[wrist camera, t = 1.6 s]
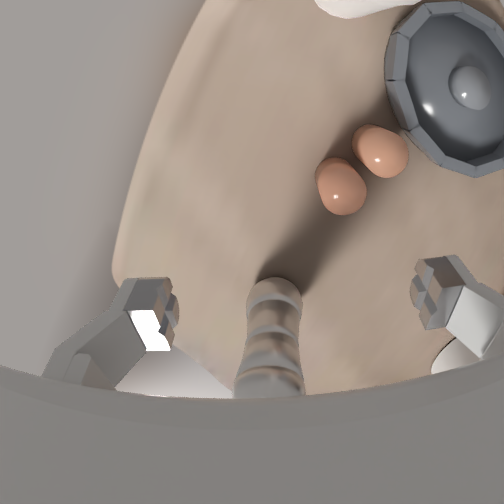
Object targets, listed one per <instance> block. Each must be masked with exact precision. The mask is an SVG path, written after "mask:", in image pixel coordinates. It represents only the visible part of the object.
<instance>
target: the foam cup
mask: <svg viewBox="0 0 504 504" xmlns="http://www.w3.org/2000/svg"><path fill="white" fill-rule="evenodd" d="M314 1H315V2H316V3H317V5H318V6H319V7H320V8H321V9H323V10H325V11H326V12H328V13H329V14H331V15H333V16H337V17H341V18H345V19H349V18H358V17H363V16H366V15H369V14H372V13H375V12H378V11H382V10H385V9H388V8H392V7H396V6H399V5H414V4H416V3H418V2H419V1H421V0H314Z"/></svg>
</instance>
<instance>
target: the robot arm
mask: <svg viewBox="0 0 504 504" xmlns="http://www.w3.org/2000/svg"><path fill="white" fill-rule="evenodd" d="M415 271H416V273H417V275H416V276H415V277H414V278H413V279H412V282H411V286H410V296H411V300H412V303H413V305H414V307H416V308H417V309H419V310H420V313H419V317H420V320H421V322H422V324H423V326H424V328H425V330H430V329H436V328H441V327H446V329H447V330H449V331H450V332H451V333H452V334H453V335H454V336H455V337H457V338H456V339H455V340H453V341H452V342H451V343H450V344H448V345H447V346H446V347H445V348H444V349H443V350H442V351H441V352H440V354H439V355H438V356H437V358H436V359H435V361H434V363H433V365H432V369H431V373H432V374H431V375H427V376H423V377H419V378H415V379H410V380H405V381H401V382H396V383H391V384H385V385H380V386H374V387H368V388H362V389H356V390H349V391H341V392H333V393H325V394H315V395H305V396H292V397H276V398H246V399H216V398H187V397H186V398H185V397H171V396H158V395H147V394H137V393H129V392H120V391H117V390H116V389H115V386H116V385H117V384H118V383H119V382H120V381H121V380H122V379H123V378H124V376H125V375H126V374H127V373H128V372H129V371H130V370H131V369H132V368H133V367H134V365H135V364H136V363H137V362H138V361H139V360H140V359H141V358H142V357H143V356H144V354H145V353H146V352H147V350H171V347H172V343H173V339H174V335H175V334H174V332H173V328H174V327H175V326H176V325H177V324H178V320H179V305H178V301H177V298H176V296H174V295H173V294H172V293H171V291H172V288H173V286H172V283H171V281H170V279H169V278H168V277H145V278H127V279H125V280H124V281H123V283H122V285H121V287H120V289H119V291H118V293H117V295H116V297H115V299H114V301H113V303H112V304H111V306H110V308H109V311H104V312H103V313H101V314H100V315H99V316H97V317H96V318H94V319H93V320H92V321H90V322H89V323H88V324H87V325H85V326H84V327H83V328H81V329H80V330H79V331H77V332H76V333H75V334H73V335H72V336H71V337H69V338H68V339H67V340H66V341H64V342H63V343H62V344H61V345H59V346H58V347H57V348H55V350H54V352H53V354H52V356H51V358H50V360H49V362H48V364H47V366H46V368H45V370H44V372H43V374H42V376H36V375H33V374H29V373H25V372H22V371H18V370H15V369H11V368H8V367H5V366H1V365H0V504H504V296H503V295H501V294H500V293H498V292H496V291H495V290H493V289H491V288H489V287H488V286H486V285H484V284H483V283H478V282H477V281H476V280H475V278H474V277H473V275H472V274H471V273H470V271H469V270H468V269H467V268H466V266H465V265H464V264H463V262H462V261H461V260H460V258H459V257H458V256H456V255H448V256H443V257H435V258H425V259H419V260H418V261H417V263H416V267H415Z"/></svg>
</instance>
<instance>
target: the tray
mask: <svg viewBox="0 0 504 504" xmlns="http://www.w3.org/2000/svg"><path fill="white" fill-rule="evenodd" d="M384 79H385V86H386V91H387V95H388V99H389V102H390V105H391V108H392V110H393V112H394V115H395V117H396V119H397V121H398V123H399V124H400V126H401V128H402V130H403V131H404V132H405V134H406V135H407V136H408V137H409V139H410V140H411V141H412V142H413V143H414V144H415V145H416V146H417V147H418V148H419V149H420V150H421V151H422V152H424V153H425V154H426V156H427V157H428V158H429V159H430V160H431V161H432V162H434V163H435V164H437V165H439V166H440V167H443V168H446V169H449V170H452V171H455V172H458V173H461V174H464V175H467V176H470V177H473V178H478V177H481V176H484V175H486V174H489V173H492V172H495V171H498V170H501V169H503V168H504V31H503V30H502V29H501V27H500V26H499V25H498V23H496V22H495V21H494V20H492V19H491V18H489V17H488V16H486V15H484V14H483V13H481V12H479V11H478V10H476V9H474V8H472V7H471V6H469V5H467V4H465V3H463V2H460V1H450V2H433V3H424V4H422V5H420V6H418V7H416V8H414V9H413V10H412V12H411V13H410V14H409V15H408V16H406V17H405V18H404V19H403V20H402V21H400V22H399V24H398V25H397V26H396V28H395V29H394V30H393V32H392V33H391V36H390V38H389V41H388V44H387V47H386V52H385V58H384Z"/></svg>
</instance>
